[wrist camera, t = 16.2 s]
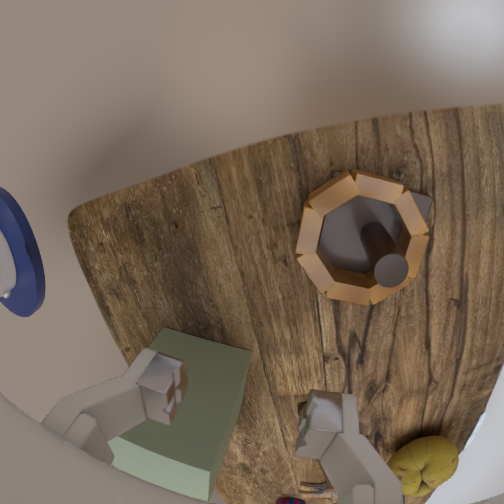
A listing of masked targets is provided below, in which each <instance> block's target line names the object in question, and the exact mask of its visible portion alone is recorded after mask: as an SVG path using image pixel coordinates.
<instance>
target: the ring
mask: <svg viewBox="0 0 504 504" xmlns="http://www.w3.org/2000/svg"><path fill="white" fill-rule="evenodd" d="M357 195H358V196H362V197H366V198H370V199H374V200H378V201H382V202H386V203H390V205H391V206H392V208H393V210H394V212H395V214H396V216H397V217H398V219H399V221H400V223H401V225H402V229H401V233H400V236H399V239H398V243H397V246H398V248H399V249H400V251H401V253H402V254H403V256H404V257H405V259H406V260H407V262H408V266H409V271H408V275H407V277H406V279H405V280H404V281H403V282H402V283H401V284H400V285H398V286H396V287H392V288H387V287H383V286H381V285H379V284H378V283H377V282H376V280H375V278H374V275H373V272H372V270H371V271H369V272H367V273H365V274H364V273H359V272H354V271H350V270H345V269H340V268H336V267H333V265H332V264H331V262H330V260H329V259H328V257H327V256H326V254H325V253H324V251H323V250H322V248H321V247H320V245H319V244H318V242H319V237H320V233H321V229H322V224H323V220H324V216H325V215H327V214H329V213H330V212H332V211H333V210H335V209H337V208H338V207H340V206H341V205H343V204H345V203H346V202H348V201H349V200H351V199H352V198H354V197H356V196H357ZM428 231H429V229H428V226H427V224H426V222H425V220H424V218H423V216H422V214H421V212H420V210H419V208H418V206H417V204H416V202H415V200H414V198H413V196H412V194H411V192H410V190H409V189H407V188H405V187H404V185H403V184H401V183H399V182H398V181H396V180H394V179H390V178H387V177H383V176H379V175H375V174H371V173H368V172H364V171H359V170H355V169H352V173H351V175H350V173H349V172H348V171H347V170H345V171H344V172H342V173H341V174H339V175H338V176H336V177H334V178H333V179H331V180H330V181H328V182H327V183H325V184H324V185H322V186H321V187H319V188H317V189H316V190H314V191H313V192H311V193H310V194H309V198H308V200H307V199H306V200H305V203H304V208H303V213H302V219H301V224H300V229H299V234H298V238H297V243H296V248H295V253H297V257H296V260H297V261H298V262H299V264H300V265H301V267H302V268H303V269H304V271H305V272H306V274H307V275H308V277H309V278H310V280H311V281H312V282H313V284H314V285H315V287H316V288H317V290H318V291H319V293H320V294H322V293H324V292H326V298H331V299H335V300H340V301H345V302H350V303H355V304H361V305H366V306H368V303H369V301H370V300H371V302H372V304H373V305H374V304H376V303H378V302H379V301H381V300H383V299H385V298H387V297H388V296H390V295H392V294H394V293H396V292H397V291H399V290H401V289H403V288H404V287H406V286H408V285H409V284H411V282H410V279H409V277H410V278H414V279H415V277H416V275H417V272H418V269H419V267H420V264H421V261H422V258H423V255H424V252H425V249H426V246H427V243H428V240H429V236H428V235H427V234H426V232H428Z"/></svg>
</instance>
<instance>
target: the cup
mask: <svg viewBox="0 0 504 504" xmlns="http://www.w3.org/2000/svg"><path fill="white" fill-rule="evenodd" d="M276 504H305V502H304V501H302V500H299V499H294V498H282V499H278V500H277V502H276Z"/></svg>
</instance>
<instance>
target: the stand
mask: <svg viewBox="0 0 504 504" xmlns="http://www.w3.org/2000/svg"><path fill="white" fill-rule="evenodd" d="M342 172H343V171H338V170H333V171H332V176H331V179H333V178H334V177H336V176H338V175H339V174H341V173H342ZM350 175H351V173H350ZM407 189H408V188H407ZM409 190H410V192H411V194H412V196H413V198H414V200H415V202H416V204H417V206H418V208H419V210H420V212H421V214H422V216H423V218H424V220H425V222H426V223H427V220H428V216H429V213H430V209H431V205H432V201H433V197H431V196H430V195H428V194H425V193H422V192H419V191H415V190H412V189H409ZM401 229H402V225H401V223H400V221H399V219H398V217H397V216H396V214H395V212H394V210H393V208H392V206H391V205H390V203H386V202H382V201H378V200H374V199H370V198H366V197H362V196H358V195H357V196H356V197H354V198H352V199H351V200H349V201H348V202H346V203H345V204H343V205H341V206H340V207H338V208H337V209H335V210H333V211H332V212H330V213H329V214H327V215H325V216H324V220H323V224H322V229H321V233H320V237H319V242H318V244H319V245H320V247H321V248H322V250H323V251H324V253H325V254H326V256H327V257H328V259H329V260H330V262H331V264H332V265H333V267H336V268H340V269H345V270H350V271H354V272H359V273H364V274H365V273H367V272H369V271H371V270H372V272H373V275H374V278H375V280H376V282H377V283H378V284H379V285H381V286H383V287H387V288H392V287H396V286H398V285H400V284H401V283H402V282H403V281H404V280H405V279H406V277H407V275H408V271H409V266H408V262H407V260H406V259H405V257H404V256H403V254H402V253H401V251H400V249H399V248H398V246H397V243H398V239H399V236H400V233H401ZM404 288H405V287H404ZM404 288H403V289H401V291H403V290H404Z"/></svg>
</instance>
